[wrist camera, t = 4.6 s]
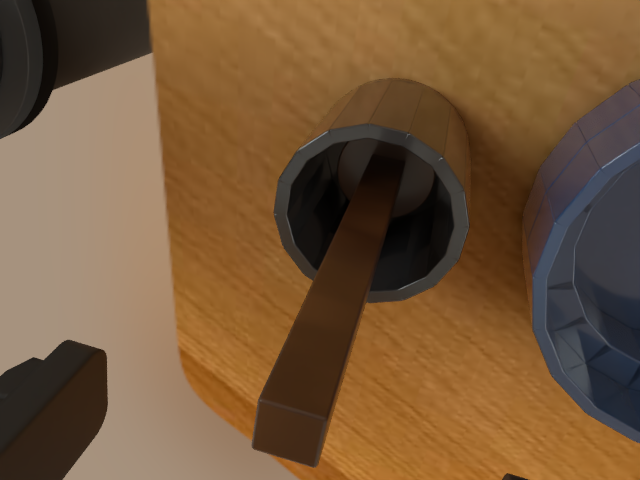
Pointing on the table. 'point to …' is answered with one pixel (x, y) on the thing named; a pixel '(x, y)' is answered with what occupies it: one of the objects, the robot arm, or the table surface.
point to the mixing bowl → (590, 261)
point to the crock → (403, 232)
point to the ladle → (337, 300)
